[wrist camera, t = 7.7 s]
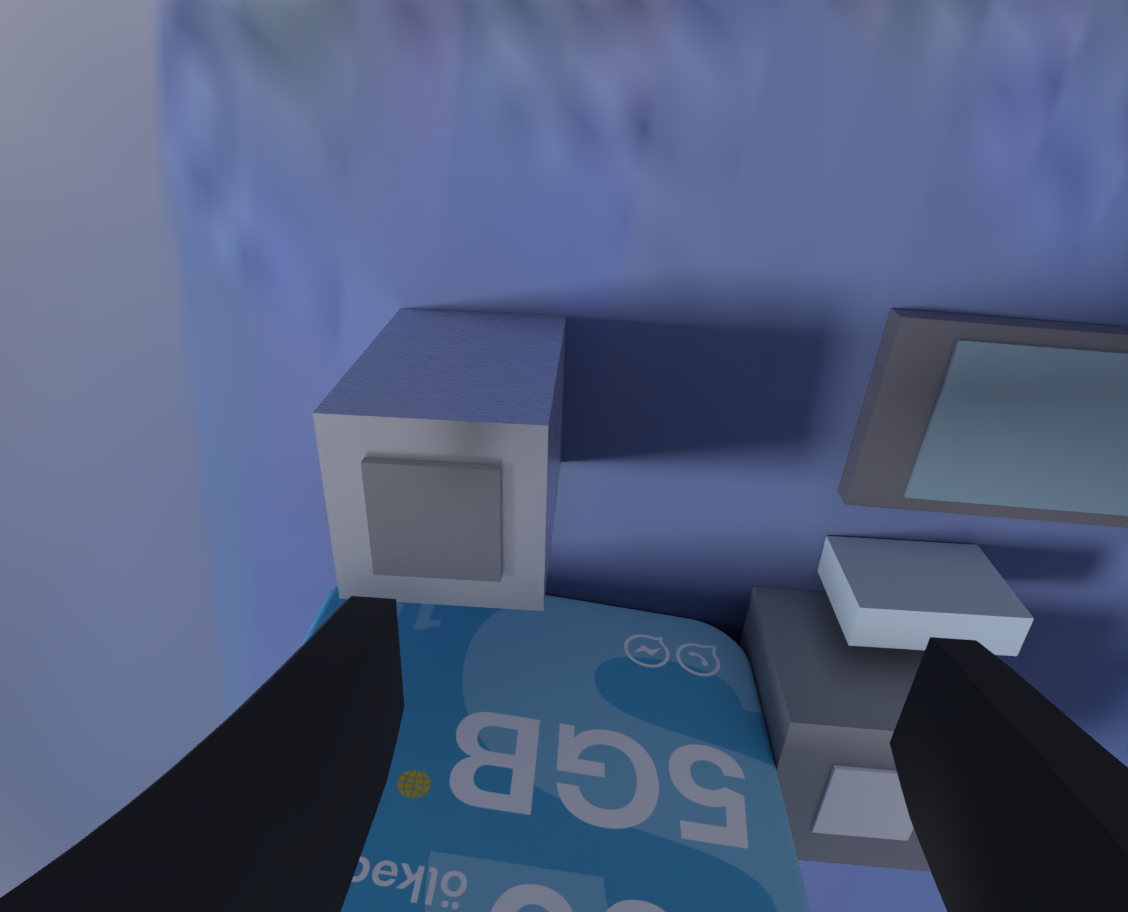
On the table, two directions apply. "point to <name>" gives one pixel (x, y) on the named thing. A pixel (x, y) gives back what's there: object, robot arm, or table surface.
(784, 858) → the data package
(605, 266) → the table surface
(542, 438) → the metal plug
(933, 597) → the socket rails
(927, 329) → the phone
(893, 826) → the cube
